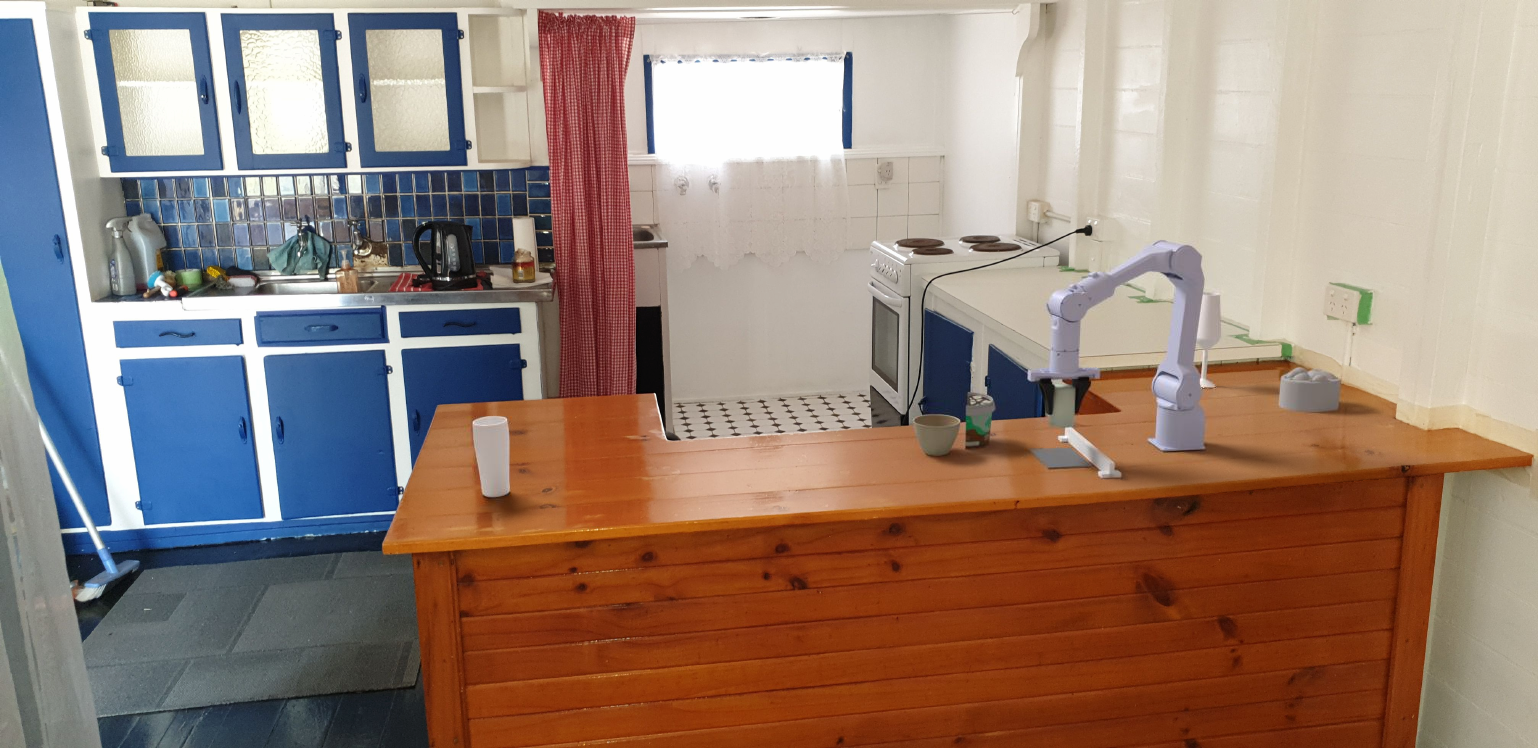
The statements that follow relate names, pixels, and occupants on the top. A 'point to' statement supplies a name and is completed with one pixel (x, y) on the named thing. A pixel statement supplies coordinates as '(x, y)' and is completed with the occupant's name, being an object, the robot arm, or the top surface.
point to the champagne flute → (1208, 330)
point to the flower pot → (936, 433)
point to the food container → (978, 420)
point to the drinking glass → (492, 454)
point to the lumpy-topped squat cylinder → (1309, 391)
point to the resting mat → (1060, 458)
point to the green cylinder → (1063, 406)
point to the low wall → (1090, 453)
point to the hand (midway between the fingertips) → (1062, 413)
